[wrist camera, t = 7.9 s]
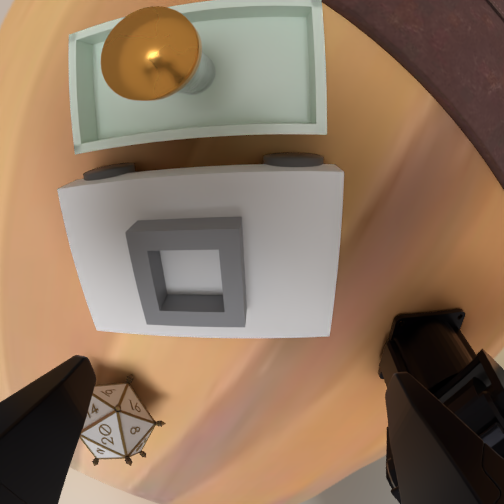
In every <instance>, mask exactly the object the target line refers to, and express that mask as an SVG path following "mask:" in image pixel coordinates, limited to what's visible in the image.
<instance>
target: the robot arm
mask: <svg viewBox="0 0 504 504" xmlns="http://www.w3.org/2000/svg"><path fill="white" fill-rule="evenodd" d="M464 317H465V313H464V311H463V310H462V309H455V310H446V311H437V312H427V313H416V314H405V315H399V316H397V317H396V318H395V319H394V321H393V325H392V329H391V333H390V336H389V340H388V341H387V342H386V344H385V347H384V351H383V354H382V358H381V361H380V364H379V366H380V369H379V373H378V374H379V377H380V378H381V379H384V380H385V383H386V386H387V390H386V394H385V400H386V408H387V417H388V427H387V454H386V478H387V480H388V482H389V484H390V486H391V488H392V490H391V493H392V494H393V496H394V497H395V498H396V499H397V500H398V501H399V503H400V504H504V370H503V368H502V367H501V366H500V365H499V364H498V363H497V362H496V361H495V360H494V359H493V358H492V357H491V356H490V355H488V354H487V353H486V352H485V351H484V350H483V349H482V350H481V351H480V352H479V353H478V354H477V355H476V354H475V352H474V351H473V349H472V348H471V346H470V345H469V343H468V342H467V340H466V339H465V337H464V336H463V334H462V333H461V331H460V327H461V325H462V322H463V319H464ZM400 321H402V322H401V323H399V322H400ZM95 384H96V375H95V372H94V370H93V368H92V365H91V363H90V361H89V359H88V358H87V357H85V356H80V355H75V356H73V357H72V358H70V359H68V360H67V361H65V362H64V363H62V364H60V365H59V366H57V367H56V368H54V369H52V370H51V371H49V372H48V373H46V374H44V375H43V376H41V377H40V378H38V379H37V380H35V381H33V382H32V383H30V384H29V385H27V386H25V387H24V388H22V389H21V390H19V391H18V392H16V393H14V394H13V395H11V396H10V397H8V398H6V399H5V400H3V401H2V402H0V504H58V502H59V498H60V495H61V491H62V488H63V485H64V482H65V479H66V475H67V472H68V469H69V466H70V463H71V460H72V457H73V454H74V451H75V449H76V446H77V443H78V440H79V437H80V435H81V432H82V429H83V426H84V423H85V420H86V417H87V413H88V409H89V406H90V402H91V398H92V394H93V391H94V387H95Z"/></svg>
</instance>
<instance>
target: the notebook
mask: <svg viewBox="0 0 504 504" xmlns="http://www.w3.org/2000/svg"><path fill="white" fill-rule="evenodd" d="M322 2H323V3H325V4H326V5H327V6H329V7H330V8H332V9H333V10H335V11H336V12H338V13H339V14H340V15H342V16H343V17H344V18H346V19H347V20H349V21H350V22H351V23H353V24H354V25H355V26H356V27H358V28H359V29H360V30H362V31H363V32H364V33H365V34H367V35H368V36H369V37H370V38H372V39H373V40H374V41H375V42H376V43H378V44H379V45H380V46H381V47H382V48H383V49H385V50H386V51H387V52H388V53H389V54H390V55H391V56H392V57H394V58H395V59H396V60H397V61H398V62H399V63H400V64H401V65H402V66H403V67H404V68H405V69H406V70H407V71H409V72H410V73H411V74H412V75H413V76H414V77H415V78H416V79H417V80H418V81H419V82H420V83H421V84H422V85H423V87H424V88H425V89H426V90H427V91H428V92H429V93H430V94H431V95H432V96H433V97H434V98H435V99H436V100H437V102H438V103H439V104H440V105H441V106H442V107H443V108H444V109H445V111H446V112H447V113H448V114H449V115H450V116H451V118H452V119H453V120H454V121H455V122H456V124H457V125H458V126H459V127H460V128H461V130H462V131H463V132H464V133H465V135H466V136H467V137H468V139H469V140H470V141H471V143H472V144H473V145H474V147H475V148H476V149H477V151H478V152H479V153H480V155H481V156H482V158H483V159H484V160H485V162H486V163H487V165H488V166H489V168H490V169H491V171H492V172H493V174H494V175H495V177H496V178H497V180H498V181H499V183H500V184H501V186H502V188H503V189H504V0H322Z"/></svg>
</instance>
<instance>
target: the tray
mask: <svg viewBox="0 0 504 504" xmlns="http://www.w3.org/2000/svg"><path fill="white" fill-rule="evenodd" d="M167 8H171V9H173V10H176V11H178V12H180V13H181V14H182V15H184V16H185V17H186V18H187V19H188V20H189V21H190V22H191V23H192V25H193V26H194V27H195V28H196V30H197V31H198V33H199V36H200V39H201V43H202V52H203V53H204V54H206V55H207V56H208V57H209V58H210V59H211V60H212V62H213V63H214V66H215V78H214V80H213V82H212V84H211V85H210V87H209V88H208V89H206V90H205V91H203V92H201V93H199V94H194V95H188V94H183V93H178V92H177V93H175V94H173V95H171V96H169V97H167V98H164V99H160V100H155V101H139V100H130V99H127V98H124V97H122V96H120V95H118V94H116V93H115V92H114V91H113V90H112V89H111V88H110V87H109V86H108V85H107V83H106V81H105V79H104V77H103V74H102V70H101V53H102V49H103V45H104V43H105V41H106V38H107V37H108V35H109V33H110V32H111V31H112V29H113V28H114V27H115V26H116V25H117V24H118V23H119V22H120V21H121V20H122V19H123V18H125V17H123V18H119V19H116V20H112V21H109V22H105V23H102V24H99V25H96V26H93V27H90V28H87V29H84V30H81V31H79V32H76V33H73V34H70V35H69V93H70V109H71V121H72V132H73V141H74V150H75V154H80V153H85V152H91V151H97V150H102V149H108V148H115V147H121V146H128V145H135V144H143V143H151V142H160V141H169V140H179V139H190V138H202V137H216V136H235V135H263V134H317V135H327V90H326V61H325V41H324V25H323V12H322V0H213V1H204V2H197V3H190V4H183V5H177V6H171V7H167Z"/></svg>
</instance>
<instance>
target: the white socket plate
mask: <svg viewBox="0 0 504 504" xmlns="http://www.w3.org/2000/svg"><path fill="white" fill-rule="evenodd" d="M323 162H324V157H323V156H321V155H317V154H310V153H292V152H291V153H273V154H268V155H265V156H264V164H247V165H222V166H204V167H188V168H175V169H163V170H152V171H142V172H135V165H134V163H121V164H114V165H109V166H104V167H100V168H96V169H93V170H90V171H87V172H85V173H84V174H83V176H84V179H78V180H75V181H73V182H71V183H69V184H67V185H65V186H63V187H61V188H58V189H57V190H58V196H59V201H60V206H61V210H62V215H63V220H64V224H65V228H66V232H67V237H68V241H69V244H70V248H71V252H72V256H73V259H74V263H75V266H76V270H77V273H78V277H79V280H80V283H81V286H82V289H83V292H84V295H85V299H86V301H87V304H88V307H89V310H90V313H91V316H92V319H93V321H94V324H95V327H96V329H97V331H107V332H118V333H130V334H144V335H159V336H178V337H203V338H299V337H325V336H330V329H331V322H332V314H333V306H334V298H335V289H336V280H337V270H338V260H339V249H340V237H341V223H342V208H343V189H344V171H342V170H341V169H340V168H339V167H338V166H336V165H335V164H323Z"/></svg>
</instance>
